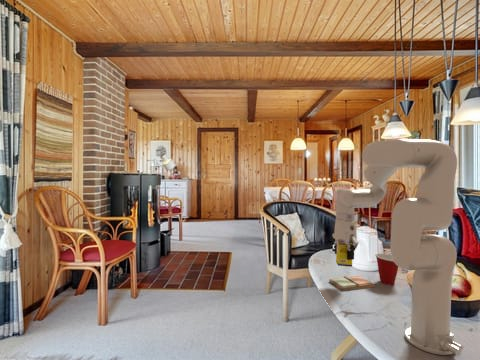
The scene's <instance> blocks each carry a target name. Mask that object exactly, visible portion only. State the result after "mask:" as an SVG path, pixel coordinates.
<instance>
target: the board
mask: <svg viewBox="0 0 480 360" xmlns="http://www.w3.org/2000/svg"><path fill="white" fill-rule="evenodd" d="M328 282H329V283H330V284H332V285H334V286H335V287H336V288H337V289H339V290H341V291H343V292H344V291H352V290H361V289H368V288H375V283H373V282H371V281H369V280H368V279H366V278H364V277H362V276H359V275H356V276H346V275H343V277H339V278H338V277H337V278H331V279H330V278H329V280H328Z"/></svg>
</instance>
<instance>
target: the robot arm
mask: <svg viewBox="0 0 480 360" xmlns="http://www.w3.org/2000/svg"><path fill="white" fill-rule="evenodd" d="M362 161H363V163H364V164H365V165H366V166H367V167H366V168H365V170H364V172H363V174H364V177H365V179H366V181H368V182H369V183H370V184H371V185H372V186H370V187H369V188H368V189H364V188H363V189H351V188H339V189H336V198H335V199H336V200H335V203H336V204H335V222H334V223H335V224H334V232H333V233H332V239H333V244H334V254H335V255H336V252H337V240H338V239H339V240H342V241H343V242H344V244H346V245H347V248H348V250H347V260H352V261H353V260H355V251H356V249H357V248H358V246H359V242H358V240H357V225H356V221H355V209H361V208H365V209H366V208H373V207H375V206H377V205H378V204H379V203H380V202H381V201H382V200H383V199H384V198H385V196H386V194H387V189H388V184H387V182H388V181H389V180H390V178H391V177H392V176H393V175H394V174H395V173H396V171H398V170H399V169H400V168H409V169H410V168H411V169H412V168H424V169H425V170H424V171H423V173H422V174H421V176H420V177H419V180H418V185H417V197H408V198H403V199H401V200H399V201H398V202H397V203H396V204H395V206H394V207H393V209H392V212H391V220H390V221H391V223H390V224H391V225H390V240H389V241H390V242H389V243H390V249H389V250H390V255H391V256H392V259H393V261H394V263H395V264H396V265H397V266H398V269H401V270H405V271H414V272H413V274H412V280H411V308H410V309H411V310H410V311H411V312H410V315H411V316H410V327H408V328H406V329H405V330H404V337H405V339H406V340H407V342H409V343H410V344H411V345H412V346H413V347H416V348H418V349H420V350H421V351H425V352H427V353H430V354H434V355H440V356H450V355H455V356H457V357H459V356H460V355H461V354H462V351H463V349H464V346H463V345H461V344H460V343H458V342H456V341H455V338H454V337H455V334H453V333H452V332H451V317H452V316H451V311H452V309H451V308H452V306H451V305H452V283H453V275H454V271H455V266H456V263H457V260H458V259H457V257H458V256H457V255H458V254H457V253H458V252H457V248H456V246H455V245H454V243H453V242H452V241H451V240H450V239H449V238H447V236H444V235H440V234H431V233H430V234H423V233H424V232H434V231H435V232H436V231H444V230H446V229H448V228H449V227H451V224H452V222H453V221H452V220H453V212H454V197H455V196H454V193H455V192H454V191H455V178H456V173H457V169H458V158H457V154H456V152H455V150H454V149H453V148H452V147H451V146H450V145H448V144H447V143H444V142H441V141H438V140H434V139H433V140H432V139H421V138H420V139H414V138H413V139H412V138H409V139H408V138H397V139H396V138H395V139H394V138H393V139H387V140H385V139H384V140H376V141H372V142H370V143H368V144H367V145H366V146H365V148H364V149H363V151H362ZM422 232H423V233H422ZM350 241H351V242H352V243H349V242H350ZM350 245H351V247H350Z"/></svg>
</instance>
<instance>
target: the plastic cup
mask: <svg viewBox="0 0 480 360" xmlns="http://www.w3.org/2000/svg"><path fill="white" fill-rule="evenodd" d="M375 257H376V263H377V268H378V270H377V271H378V275H379V280H380V282H381V283H383V284H385V285H394V284H395V282H396V279H397V275H398V270H399V267H398V266H397V265H396V264H395V263H394V261H393V259H392V256H391V254H388V253H375Z"/></svg>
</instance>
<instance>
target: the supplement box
mask: <svg viewBox="0 0 480 360" xmlns="http://www.w3.org/2000/svg"><path fill="white" fill-rule="evenodd" d="M349 243H352V242H351V241H350V242H349ZM350 247H351V245H350ZM347 250H348V248H347V245H346V244H344V242H343V241H342V240H339V239H338V240H337V252H336V254H335V255H336V257H335V258H336V259H335V261H336V262H335V263H336V264H337V266H340V267H353V260H347Z"/></svg>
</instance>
